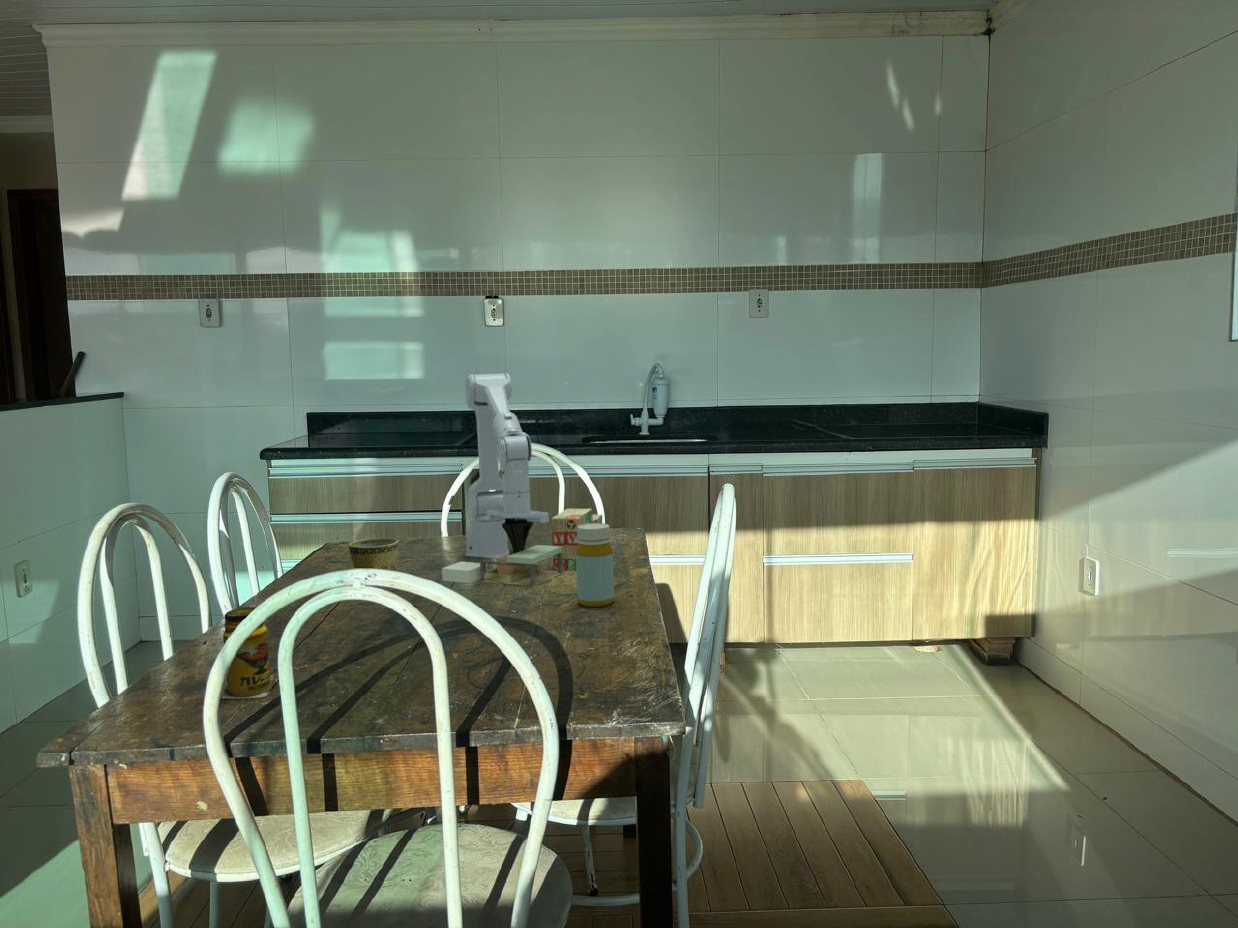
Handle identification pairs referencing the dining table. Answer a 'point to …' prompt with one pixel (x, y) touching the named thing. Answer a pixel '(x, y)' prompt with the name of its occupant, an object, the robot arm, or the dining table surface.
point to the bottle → (594, 565)
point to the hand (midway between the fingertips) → (518, 553)
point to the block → (507, 567)
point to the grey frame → (519, 573)
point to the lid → (534, 554)
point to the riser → (462, 572)
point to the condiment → (247, 660)
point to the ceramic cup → (374, 553)
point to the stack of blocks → (570, 533)
